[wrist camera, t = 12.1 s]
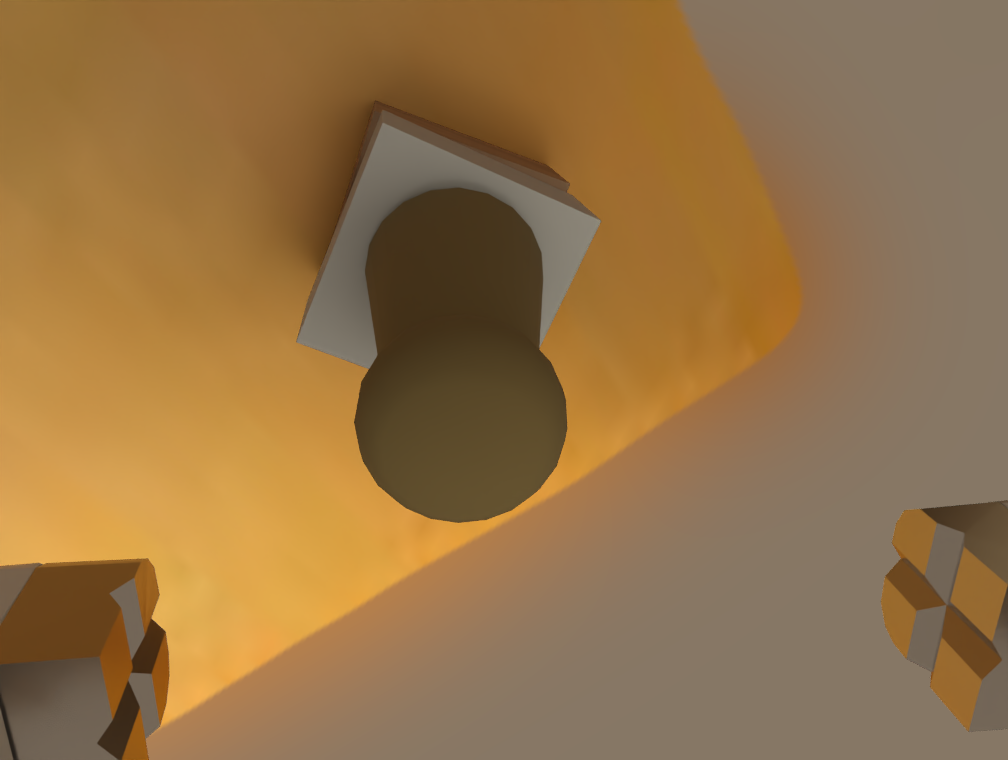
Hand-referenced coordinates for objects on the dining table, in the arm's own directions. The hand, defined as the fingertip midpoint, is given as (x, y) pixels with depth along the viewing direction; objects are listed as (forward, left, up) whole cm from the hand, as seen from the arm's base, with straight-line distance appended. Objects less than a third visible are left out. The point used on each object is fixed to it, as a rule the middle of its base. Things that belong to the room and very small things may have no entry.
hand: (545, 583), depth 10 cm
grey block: (-2, -2, -26) cm, 26 cm away
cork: (-1, -2, -21) cm, 21 cm away
